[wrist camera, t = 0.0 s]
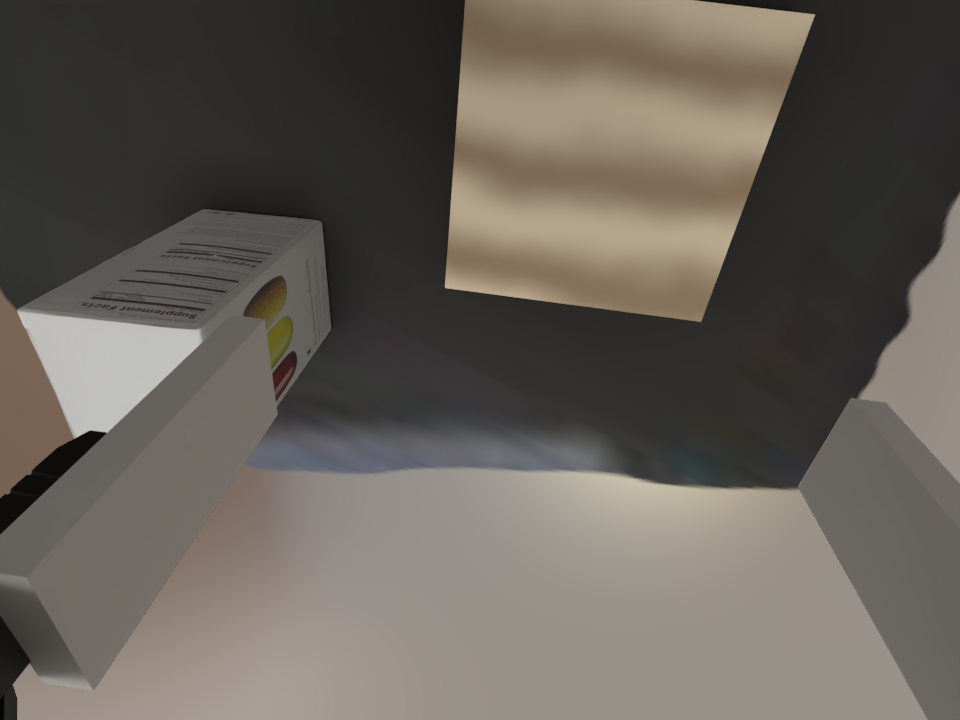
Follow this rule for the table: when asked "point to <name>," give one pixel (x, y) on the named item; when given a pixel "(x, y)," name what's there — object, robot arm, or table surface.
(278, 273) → the supplement box
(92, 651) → the robot arm
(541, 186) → the square wooden tile
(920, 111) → the table surface
